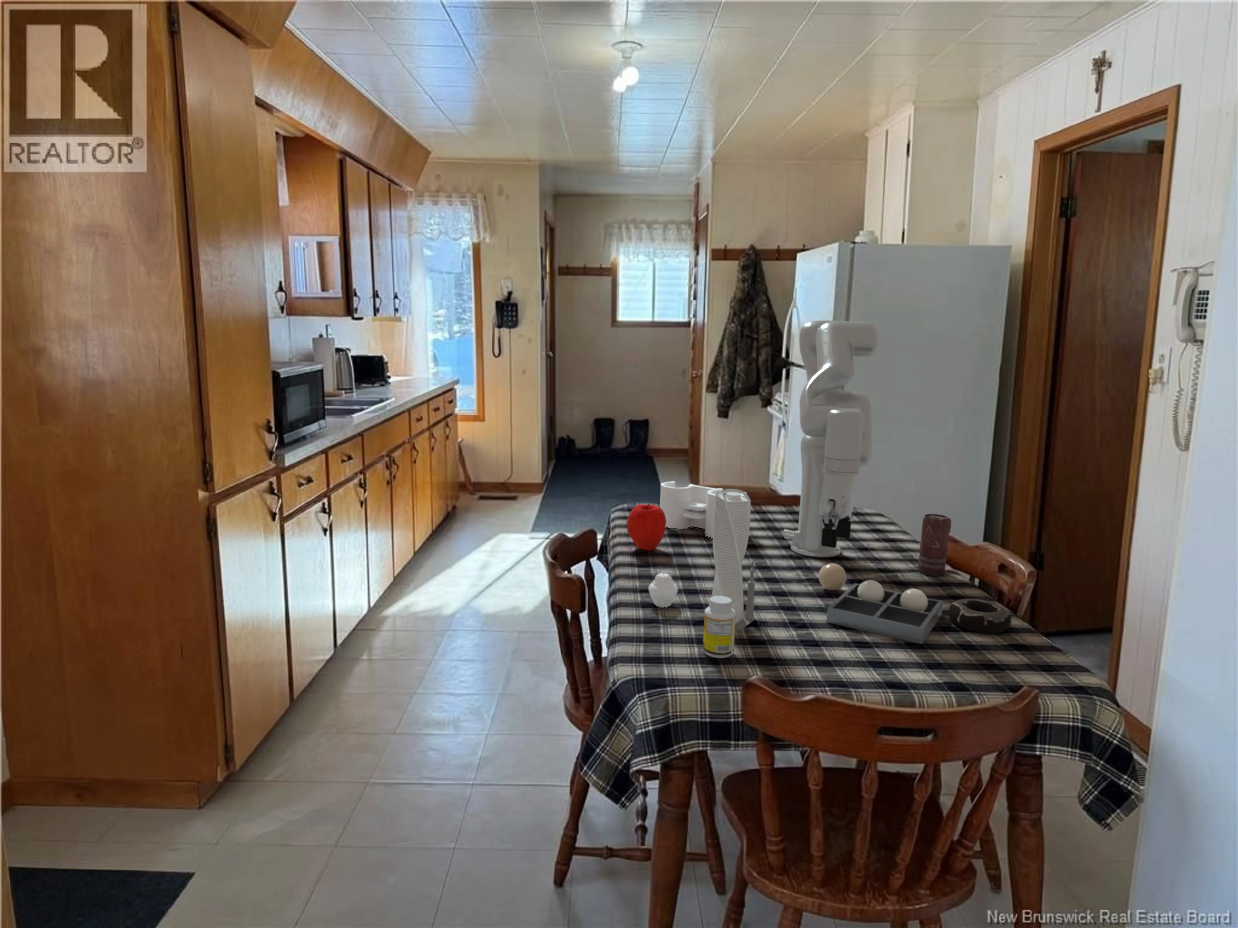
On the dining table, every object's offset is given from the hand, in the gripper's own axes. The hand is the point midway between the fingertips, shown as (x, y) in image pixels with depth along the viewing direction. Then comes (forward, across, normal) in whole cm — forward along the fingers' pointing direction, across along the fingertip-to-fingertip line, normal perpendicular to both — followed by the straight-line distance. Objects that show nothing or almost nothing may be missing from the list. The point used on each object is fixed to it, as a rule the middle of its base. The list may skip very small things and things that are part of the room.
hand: (835, 542), depth 179 cm
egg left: (+11, +5, +10) cm, 16 cm away
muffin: (+12, +30, -26) cm, 42 cm away
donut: (+12, +1, +30) cm, 33 cm away
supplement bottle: (+13, +45, -6) cm, 47 cm away
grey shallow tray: (+12, +10, +14) cm, 21 cm away
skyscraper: (+12, +30, -12) cm, 34 cm away
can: (+11, -28, +16) cm, 34 cm away
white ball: (+11, +5, +18) cm, 22 cm away
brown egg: (+11, -1, 0) cm, 11 cm away
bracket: (+10, -26, -46) cm, 54 cm away
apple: (+11, -2, -50) cm, 51 cm away
